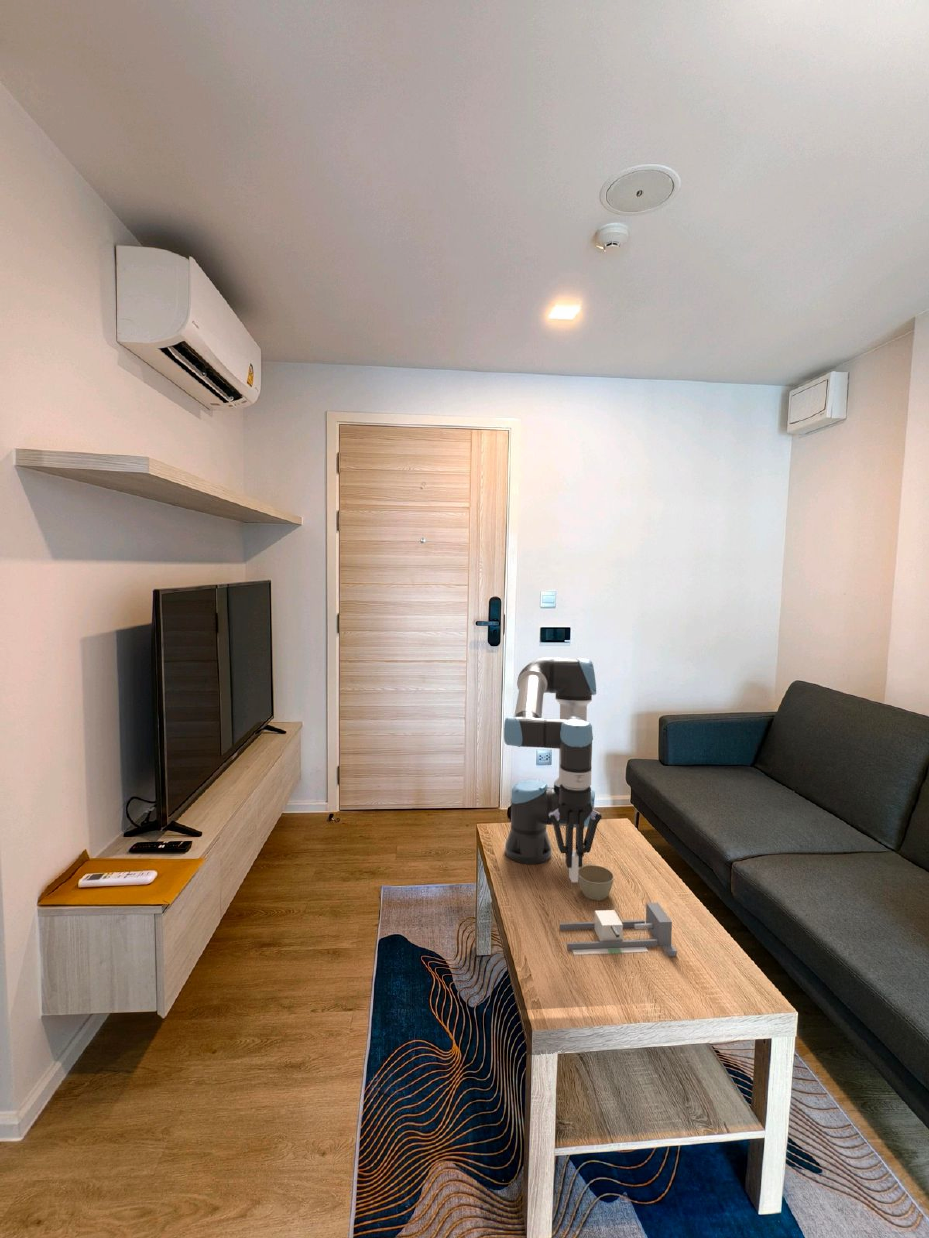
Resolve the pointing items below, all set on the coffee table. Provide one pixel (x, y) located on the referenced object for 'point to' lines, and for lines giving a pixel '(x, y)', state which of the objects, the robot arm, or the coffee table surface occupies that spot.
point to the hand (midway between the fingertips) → (573, 879)
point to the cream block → (608, 926)
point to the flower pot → (595, 881)
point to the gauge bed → (654, 923)
